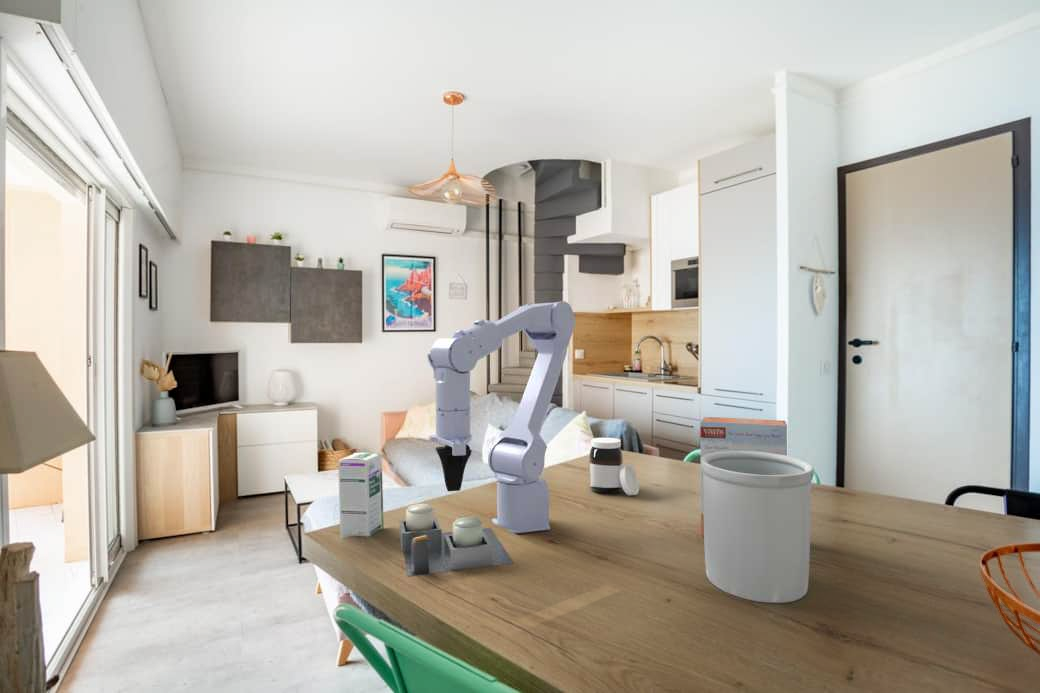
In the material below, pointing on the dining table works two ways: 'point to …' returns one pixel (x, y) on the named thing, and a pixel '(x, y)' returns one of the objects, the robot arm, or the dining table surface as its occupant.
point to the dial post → (420, 554)
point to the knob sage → (467, 532)
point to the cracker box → (741, 439)
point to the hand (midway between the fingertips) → (453, 490)
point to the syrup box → (360, 494)
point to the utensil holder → (757, 524)
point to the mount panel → (453, 550)
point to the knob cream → (419, 517)
